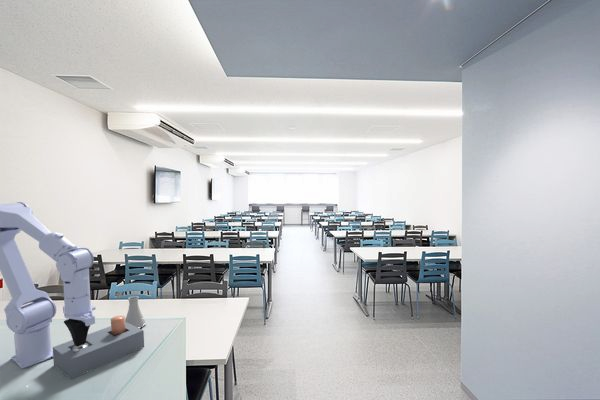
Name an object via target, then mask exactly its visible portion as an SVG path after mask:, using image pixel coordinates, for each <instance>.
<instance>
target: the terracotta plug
mask: <svg viewBox="0 0 600 400" xmlns="http://www.w3.org/2000/svg"><path fill="white" fill-rule="evenodd" d="M125 319H126V317H125V315H116V316H113V317H111V318H110V326H111V334H112V335H113V336H117V335H119V334H122V333H124V332H126V331H125Z"/></svg>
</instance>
